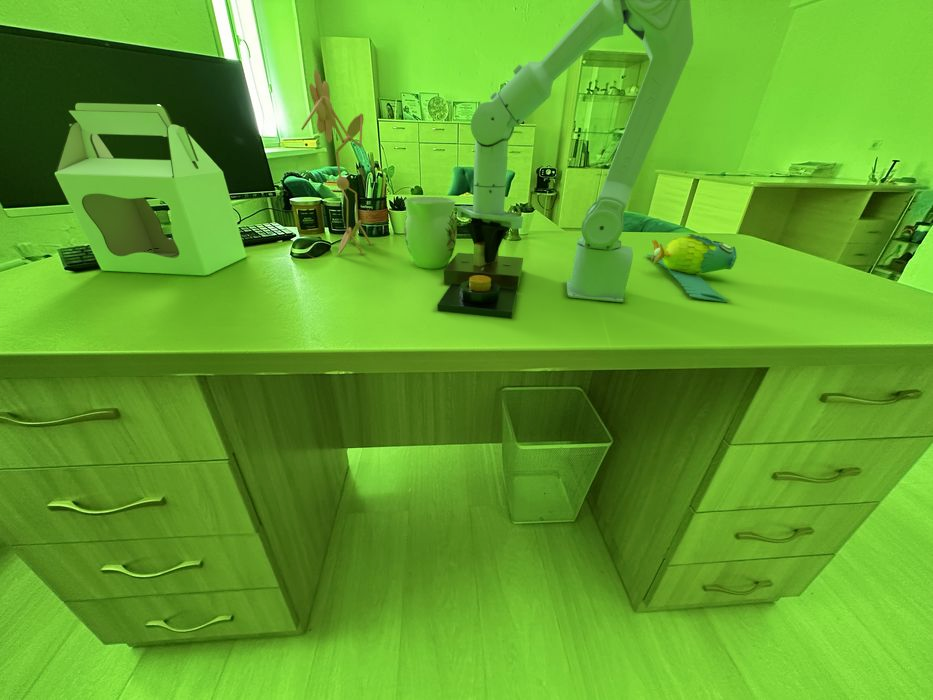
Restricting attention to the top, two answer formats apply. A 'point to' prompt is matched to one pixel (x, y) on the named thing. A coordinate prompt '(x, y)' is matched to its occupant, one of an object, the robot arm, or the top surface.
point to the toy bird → (695, 263)
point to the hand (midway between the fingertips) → (485, 260)
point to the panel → (484, 270)
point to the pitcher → (430, 230)
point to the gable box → (147, 195)
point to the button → (480, 283)
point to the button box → (479, 300)
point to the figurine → (324, 124)
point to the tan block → (481, 254)
